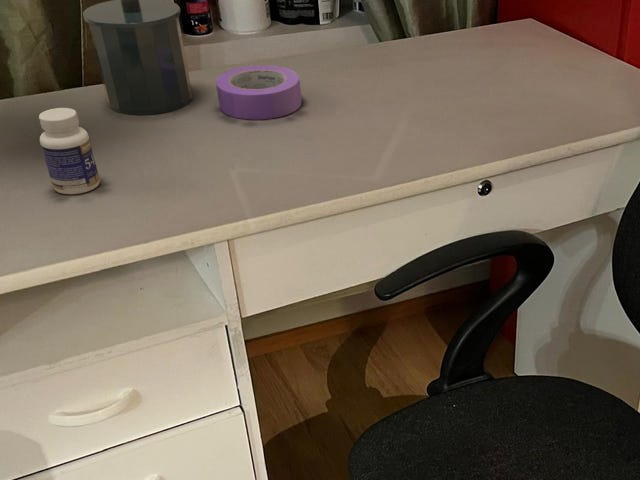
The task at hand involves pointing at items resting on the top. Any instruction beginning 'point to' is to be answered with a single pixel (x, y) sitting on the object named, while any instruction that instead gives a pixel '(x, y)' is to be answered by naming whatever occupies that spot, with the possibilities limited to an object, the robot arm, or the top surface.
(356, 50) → the top surface
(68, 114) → the pill bottle
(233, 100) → the tape roll
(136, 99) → the canister
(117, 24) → the canister lid
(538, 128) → the top surface
